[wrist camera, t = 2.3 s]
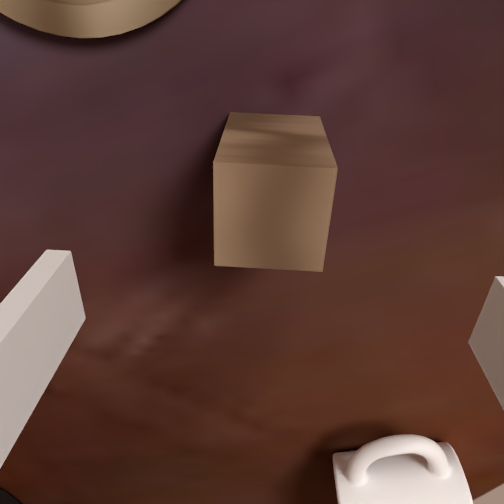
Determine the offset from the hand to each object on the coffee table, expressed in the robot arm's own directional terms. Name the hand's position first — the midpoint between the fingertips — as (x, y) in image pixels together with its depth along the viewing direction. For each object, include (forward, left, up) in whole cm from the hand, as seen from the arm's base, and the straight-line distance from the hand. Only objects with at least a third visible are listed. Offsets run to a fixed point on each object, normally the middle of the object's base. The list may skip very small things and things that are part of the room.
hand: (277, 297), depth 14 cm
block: (0, 0, -14) cm, 14 cm away
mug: (+12, -26, -14) cm, 32 cm away
